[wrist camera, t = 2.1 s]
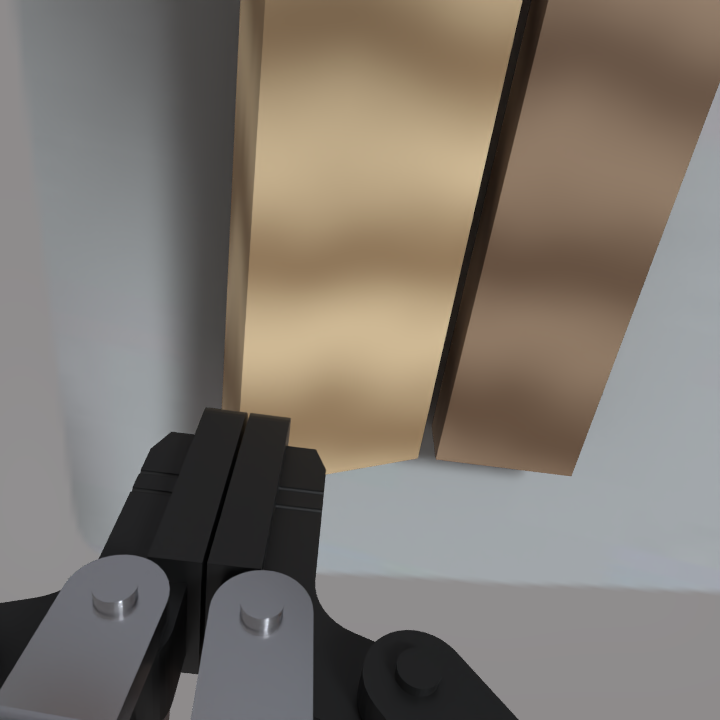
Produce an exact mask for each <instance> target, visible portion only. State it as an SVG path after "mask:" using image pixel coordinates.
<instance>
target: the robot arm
mask: <svg viewBox="0 0 720 720" xmlns="http://www.w3.org/2000/svg"><path fill="white" fill-rule="evenodd" d="M290 424H291V418H288V417H280V416H272V415H264V414H256V413H250V415H249V418H248V413H247V412H239V411H231V410H223V409H215V408H206V409H205V410H204V413H203V415H202V418H201V420H200V423H199V425H198V428H197V430H196V433H195V435H193V434H185V433H177V432H171V433H170V434H168V435H167V436H166V437H165V438H163V439H162V440H161V441H160V442H158V443H157V444H156V445H155V446H153V447H152V448H151V449H150V452H149V454H148V456H147V458H146V460H145V462H144V464H143V466H142V468H141V473H140V474H139V475H138V477H137V479H136V481H135V483H134V485H133V489H132V492H130V494H129V496H128V498H127V500H126V502H125V505H124V507H123V509H122V511H121V513H120V515H119V517H118V519H117V521H116V524H115V526H114V528H113V530H112V532H111V534H110V536H109V538H108V541H107V543H106V545H105V547H104V549H103V551H102V553H101V555H100V557H99V559H98V560H95V561H93V562H90V563H89V564H87V565H85V566H83V567H82V568H80V569H79V570H78V571H76V572H75V573H74V574H73V575H72V576H71V577H70V578H69V579H68V581H67V582H66V583H65V585H64V586H63V588H62V589H61V590H60V591H58V592H55V593H52V594H49V595H46V596H42V597H37V598H31V599H24V600H18V601H11V602H5V603H0V720H169V716H170V708H171V705H172V702H173V699H174V695H175V692H176V688H177V684H178V681H179V677H180V674H181V672H182V673H192V674H198V679H197V685H196V691H195V698H194V703H193V709H192V715H191V720H518V719H517V718H516V717H515V715H514V714H513V713H512V712H511V711H510V710H509V709H508V708H507V707H506V706H505V704H503V702H502V701H501V700H500V699H499V698H498V697H497V696H496V695H495V694H494V693H493V692H492V690H491V689H490V688H489V687H488V686H487V685H486V684H485V683H484V682H483V681H482V679H481V678H480V677H479V676H478V675H477V674H476V673H475V672H474V671H473V670H472V669H471V668H470V667H469V665H468V664H467V663H466V662H465V661H464V660H463V659H462V658H461V657H460V656H459V655H458V654H457V652H456V651H455V650H454V649H453V648H451V647H450V646H449V645H448V644H447V643H445V642H444V641H442V640H441V639H439V638H437V637H435V636H433V635H430V634H427V633H424V632H420V631H414V630H403V631H396V632H392V633H389V634H387V635H385V636H383V637H381V638H380V639H378V640H377V641H376V642H374V641H372V640H370V639H367V638H365V637H362V636H360V635H358V634H355V633H353V632H351V631H349V630H347V629H345V628H343V627H342V626H340V625H339V624H337V623H336V622H335V621H334V620H333V619H331V618H330V617H329V615H328V614H327V613H326V612H325V611H324V609H323V608H322V606H321V604H320V603H319V600H318V598H317V595H316V590H315V577H316V567H317V557H318V547H319V537H320V527H321V516H322V506H323V495H324V486H325V476H326V468H325V466H324V464H323V462H322V460H321V458H320V456H319V454H318V452H317V450H316V449H309V448H301V447H292V446H288V443H289V434H290Z"/></svg>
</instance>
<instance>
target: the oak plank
mask: <svg viewBox="0 0 720 720" xmlns="http://www.w3.org/2000/svg"><path fill="white" fill-rule="evenodd" d="M521 5H522V0H240V20H239V42H238V64H237V86H236V108H235V130H234V152H233V174H232V196H231V218H230V240H229V262H228V284H227V307H226V329H225V351H224V373H223V395H222V409H223V410H231V411H239V412H247V413H248V418H249V415H250V413H256V414H264V415H272V416H280V417H288V418H291V424H290V434H289V443H288V446H292V447H301V448H309V449H316V450H317V452H318V454H319V456H320V458H321V460H322V462H323V464H324V466H325V468H326V474H331V473H337V472H342V471H348V470H354V469H359V468H365V467H371V466H377V465H382V464H388V463H394V462H400V461H405V460H411V459H417V458H418V455H419V451H420V447H421V442H422V438H423V433H424V429H425V425H426V420H427V416H428V412H429V407H430V403H431V398H432V394H433V390H434V385H435V381H436V377H437V372H438V368H439V363H440V359H441V355H442V350H443V346H444V342H445V337H446V333H447V328H448V324H449V320H450V315H451V311H452V307H453V302H454V298H455V293H456V289H457V285H458V280H459V276H460V272H461V267H462V263H463V258H464V254H465V250H466V245H467V241H468V237H469V232H470V228H471V223H472V219H473V215H474V210H475V206H476V202H477V197H478V193H479V188H480V184H481V180H482V175H483V171H484V167H485V162H486V158H487V153H488V149H489V145H490V140H491V136H492V132H493V127H494V123H495V118H496V114H497V110H498V105H499V101H500V97H501V92H502V88H503V83H504V79H505V75H506V70H507V66H508V62H509V57H510V53H511V48H512V44H513V40H514V35H515V31H516V27H517V22H518V18H519V13H520V9H521Z"/></svg>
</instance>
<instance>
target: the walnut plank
mask: <svg viewBox="0 0 720 720" xmlns="http://www.w3.org/2000/svg"><path fill="white" fill-rule="evenodd" d="M719 83H720V0H531V4H530V8H529V13H528V17H527V21H526V26H525V30H524V34H523V38H522V43H521V47H520V51H519V55H518V60H517V64H516V68H515V72H514V77H513V81H512V85H511V90H510V94H509V98H508V102H507V107H506V111H505V115H504V119H503V124H502V128H501V132H500V137H499V141H498V145H497V149H496V154H495V158H494V162H493V166H492V171H491V175H490V179H489V183H488V188H487V192H486V196H485V201H484V205H483V209H482V213H481V218H480V222H479V226H478V230H477V235H476V239H475V243H474V247H473V252H472V256H471V260H470V265H469V269H468V273H467V277H466V282H465V286H464V290H463V294H462V299H461V303H460V307H459V311H458V316H457V320H456V324H455V329H454V333H453V337H452V341H451V346H450V350H449V354H448V358H447V363H446V367H445V371H444V375H443V380H442V384H441V388H440V393H439V397H438V401H437V405H436V410H435V414H434V418H433V422H432V432H433V440H434V449H435V457H436V459H437V460H445V461H453V462H461V463H469V464H477V465H485V466H493V467H501V468H509V469H517V470H525V471H533V472H541V473H549V474H557V475H566V476H572V473H573V470H574V468H575V465H576V462H577V460H578V457H579V454H580V452H581V449H582V446H583V444H584V441H585V438H586V436H587V433H588V430H589V428H590V425H591V423H592V420H593V417H594V415H595V412H596V409H597V407H598V404H599V401H600V399H601V396H602V393H603V391H604V388H605V385H606V383H607V380H608V377H609V375H610V372H611V369H612V367H613V364H614V361H615V359H616V356H617V353H618V351H619V348H620V345H621V343H622V340H623V338H624V335H625V332H626V330H627V327H628V324H629V322H630V319H631V316H632V314H633V311H634V308H635V306H636V303H637V300H638V298H639V295H640V292H641V290H642V287H643V284H644V282H645V279H646V276H647V274H648V271H649V268H650V266H651V263H652V261H653V258H654V255H655V253H656V250H657V247H658V245H659V242H660V239H661V237H662V234H663V231H664V229H665V226H666V223H667V221H668V218H669V215H670V213H671V210H672V207H673V205H674V202H675V199H676V197H677V194H678V191H679V189H680V186H681V183H682V181H683V178H684V176H685V173H686V170H687V168H688V165H689V162H690V160H691V157H692V154H693V152H694V149H695V146H696V144H697V141H698V138H699V136H700V133H701V130H702V128H703V125H704V122H705V120H706V117H707V114H708V112H709V109H710V106H711V104H712V101H713V99H714V96H715V93H716V91H717V88H718V85H719Z"/></svg>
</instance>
